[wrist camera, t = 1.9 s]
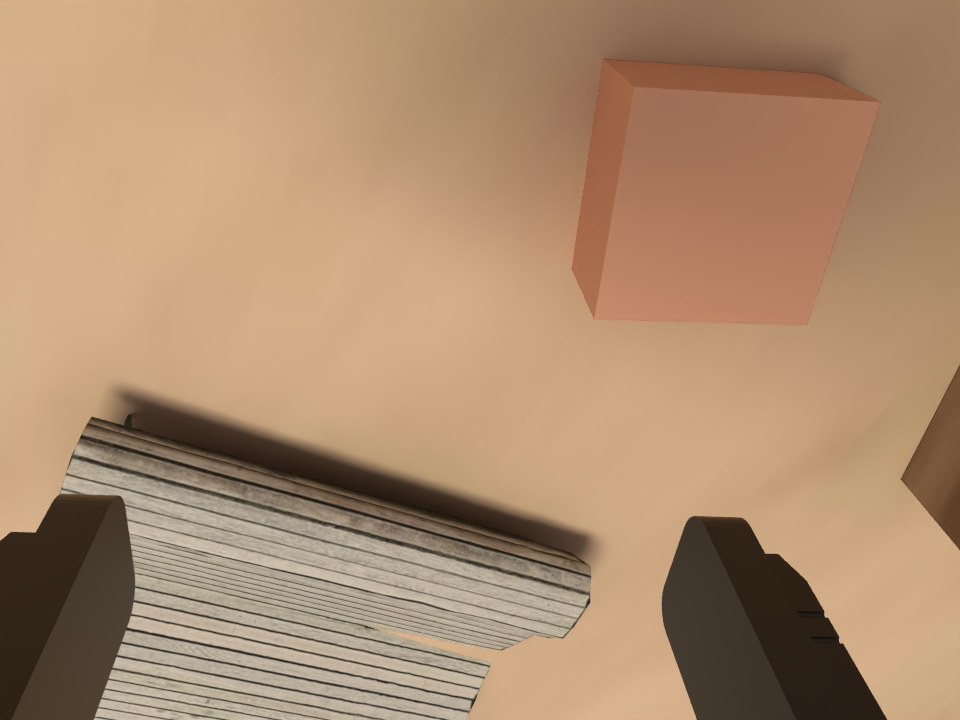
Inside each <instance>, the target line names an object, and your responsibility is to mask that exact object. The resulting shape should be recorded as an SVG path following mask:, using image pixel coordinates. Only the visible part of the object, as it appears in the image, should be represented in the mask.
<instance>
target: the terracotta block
mask: <svg viewBox="0 0 960 720" xmlns="http://www.w3.org/2000/svg"><path fill="white" fill-rule="evenodd" d="M880 104H881V102H880V101H878V100H875V99H873V98H871V97H869V96H867V95H865V94H862V93H860V92H858V91H856V90H854V89H852V88H850V87H847V86H845V85H843V84H841V83H839V82H837V81H835V80H832V79H830V78H828V77H826V76H824V75H822V74H819V73H804V72H789V71H774V70H759V69H743V68H728V67H713V66H698V65H682V64H667V63H652V62H637V61H622V60H606V59H603V63H602V70H601V76H600V83H599V90H598V96H597V103H596V110H595V116H594V123H593V130H592V136H591V143H590V150H589V157H588V163H587V170H586V177H585V183H584V190H583V197H582V203H581V210H580V217H579V223H578V230H577V237H576V243H575V250H574V257H573V264H572V271H573V273H574V275H575V277H576V280H577V282H578V284H579V286H580V289H581V291H582V293H583V295H584V298H585V300H586V302H587V304H588V307H589V309H590V311H591V313H592V316H593V318H594V319H599V320H637V321H675V322H712V323H750V324H788V325H807V323H808V320H809V317H810V314H811V311H812V308H813V305H814V302H815V299H816V296H817V293H818V290H819V287H820V284H821V281H822V278H823V275H824V272H825V269H826V266H827V263H828V260H829V257H830V254H831V251H832V248H833V245H834V242H835V239H836V236H837V233H838V230H839V227H840V224H841V221H842V218H843V215H844V212H845V209H846V206H847V203H848V200H849V197H850V194H851V191H852V188H853V185H854V182H855V179H856V176H857V173H858V170H859V167H860V164H861V161H862V158H863V155H864V152H865V149H866V146H867V143H868V140H869V137H870V134H871V131H872V128H873V125H874V122H875V119H876V116H877V113H878V110H879V107H880Z"/></svg>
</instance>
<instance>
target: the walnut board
mask: <svg viewBox="0 0 960 720" xmlns="http://www.w3.org/2000/svg"><path fill="white" fill-rule="evenodd" d="M901 480H902V481H903V483H904V484H905V485H906V486H907V487H908V489H909V490H910V491H911V492H912V493H913V494H914V496H915V497H916V498H917V499H918V500H919V502H920V503H921V504H922V505H923V506H924V508H925V509H926V510H927V511H928V512H929V514H930V515H931V516H932V517H933V518H934V520H935V521H936V522H937V523H938V524H939V526H940V527H941V528H942V529H943V530H944V532H945V533H946V534H947V535H948V536H949V538H950V539H951V540H952V541H953V542H954V544H955V545H956V546H957V547H958V548H959V550H960V367H959V369H958V371H957V373H956V375H955V377H954V379H953V381H952V382H951V384H950V386H949V388H948V390H947V392H946V394H945V396H944V398H943V400H942V402H941V404H940V406H939V408H938V409H937V411H936V413H935V415H934V417H933V419H932V421H931V423H930V425H929V427H928V429H927V431H926V433H925V435H924V436H923V438H922V440H921V442H920V444H919V446H918V448H917V450H916V452H915V454H914V456H913V458H912V460H911V462H910V463H909V465H908V467H907V469H906V471H905V473H904V475H903V477H902V479H901Z"/></svg>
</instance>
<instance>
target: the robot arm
mask: <svg viewBox="0 0 960 720" xmlns="http://www.w3.org/2000/svg"><path fill="white" fill-rule="evenodd" d="M134 595H135V571H134V564H133V557H132V550H131V543H130V536H129V529H128V522H127V515H126V508H125V503H124V500H123V498H122V497H121V496H119V495H90V494H60V495H58V496H57V497H56V498H55V499H54V501H53V502H52V504H51V506H50V508H49V510H48V511H47V513H46V515H45V517H44V519H43V520H42V522H41V524H40V526H39V528H38V529H37V531H36V533H29V532H11V533H9V534H8V535H7V536H6V537H4V538H3V539H2V540H1V541H0V720H94V718H95V715H96V712H97V710H98V707H99V704H100V701H101V699H102V696H103V693H104V690H105V687H106V685H107V682H108V679H109V676H110V674H111V671H112V668H113V665H114V662H115V660H116V657H117V654H118V651H119V649H120V646H121V643H122V640H123V638H124V635H125V632H126V629H127V626H128V624H129V620H130V617H131V613H132V608H133V603H134ZM662 616H663V623H664V627H665V630H666V634H667V636H668V639H669V642H670V645H671V648H672V650H673V653H674V656H675V659H676V662H677V665H678V667H679V670H680V673H681V676H682V679H683V681H684V684H685V687H686V690H687V693H688V696H689V698H690V701H691V704H692V707H693V710H694V712H695V715H696V718H697V720H887V719H886V717H885V715H884V713H883V712H882V710H881V708H880V706H879V705H878V703H877V701H876V700H875V698H874V696H873V694H872V693H871V691H870V689H869V688H868V686H867V684H866V682H865V681H864V679H863V677H862V675H861V674H860V672H859V670H858V669H857V667H856V665H855V663H854V662H853V660H852V658H851V657H850V655H849V653H848V651H847V650H846V648H845V646H844V644H840V643H839V636H838V634H837V632H836V631H835V629H834V627H833V625H832V624H831V622H830V620H829V619H828V618H825V616H824V610H823V608H822V607H821V605H820V603H819V601H818V600H817V598H816V596H815V594H814V593H813V591H812V589H811V588H810V586H809V584H808V582H807V581H806V580H805V579H804V578H803V577H802V576H801V575H800V574H799V573H798V572H797V571H796V570H794V569H793V568H792V567H791V566H790V565H789V564H788V563H787V562H786V561H785V560H784V559H783V558H782V557H781V556H780V555H779V554H765V552H764V551H763V549H762V547H761V545H760V543H759V541H758V540H757V538H756V536H755V534H754V532H753V530H752V529H751V527H750V525H749V524H748V522H747V521H746V520H744V519H743V518H736V517H705V516H692V517H691V518H690V519H689V520H688V521H687V523H686V525H685V527H684V530H683V533H682V536H681V539H680V542H679V545H678V547H677V550H676V553H675V556H674V559H673V562H672V565H671V568H670V571H669V574H668V577H667V579H666V582H665V585H664V589H663V595H662Z"/></svg>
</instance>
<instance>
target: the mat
mask: <svg viewBox="0 0 960 720" xmlns="http://www.w3.org/2000/svg"><path fill="white" fill-rule="evenodd" d="M60 494H90V495H119V496H121V497H122V498H123V500H124V503H125V508H126V515H127V522H128V529H129V536H130V543H131V550H132V557H133V564H134V571H135V595H134V603H133V608H132V613H131V617H130V620H129V624H128V626H127V629H126V632H125V635H124V638H123V640H122V643H121V646H120V649H119V651H118V654H117V657H116V660H115V662H114V665H113V668H112V671H111V674H110V676H109V679H108V682H107V685H106V687H105V690H104V693H103V696H102V699H101V701H100V704H99V707H98V710H97V712H96V715H95V718H94V720H466V719H467V717H468V714H469V712H470V710H471V708H472V706H473V704H474V702H475V700H476V697H477V694H478V691H479V688H480V686H481V684H482V682H483V680H484V678H485V676H486V675H487V673H488V670H489V667H490V665H491V662H488V661H483V660H479V659H475V658H471V657H467V656H464V655H460V654H457V653H453V652H450V651H446V650H443V649H439V648H435V647H432V646H428V645H425V644H422V643H419V642H416V641H413V640H410V639H406V638H403V637H400V636H396V635H393V634H390V633H387V632H384V631H380V630H377V629H374V628H380V629H385V630H391V631H396V632H402V633H407V634H412V635H417V636H422V637H427V638H432V639H436V640H441V641H446V642H450V643H455V644H461V645H466V646H472V647H478V648H486V649H495V650H503V649H505V648H508V647H510V646H512V645H514V644H516V643H518V642H521V641H523V640H525V639H527V638H529V637H532V636H533V635H536V636H541V637H547V638H564V637H565V636H566V635H567V634H568V632H569V631H570V630H571V629H572V628H573V627H574V626H575V624H576V623H577V621H578V620H579V618H580V617H581V615H582V614H583V612H584V611H585V609H586V608H587V606H588V605H589V603H590V583H591V568H590V566H589V565H588V564H586V563H585V562H584V561H582V560H581V559H579V558H578V557H576V556H575V555H573V554H572V553H570V552H567V551H563V550H559V549H556V548H552V547H551V546H550V547H549V546H546V545H543V544H541V543H538V542H535V541H533V540H530V539H527V538H525V537H522V536H519V535H515V534H511V533H508V532H504V531H500V530H496V529H492V528H488V527H484V526H481V525H478V524H475V523H472V522H469V521H466V520H463V519H460V518H456V517H452V516H448V515H444V514H440V513H436V512H432V511H428V510H424V509H420V508H416V507H412V506H408V505H405V504H401V503H397V502H393V501H389V500H385V499H382V498H378V497H374V496H371V495H367V494H363V493H360V492H356V491H352V490H349V489H345V488H341V487H338V486H334V485H330V484H327V483H323V482H319V481H316V480H312V479H308V478H305V477H301V476H298V475H295V474H291V473H288V472H285V471H281V470H278V469H275V468H272V467H268V466H265V465H262V464H258V463H255V462H252V461H248V460H245V459H242V458H238V457H234V456H230V455H226V454H222V453H219V452H215V451H211V450H207V449H204V448H200V447H197V446H193V445H189V444H186V443H182V442H179V441H175V440H172V439H168V438H164V437H160V436H157V435H153V434H151V433H148V432H145V431H141V430H138V429H134V428H132V423H131V415H128V416H127V418H126V420H125V424H124V426H123V425H120V424H116V423H112V422H109V421H105V420H101V419H98V418H94V417H91V419H90V420H89V422H88V424H87V425H86V427H85V429H84V431H83V433H82V435H81V437H80V439H79V441H78V443H77V445H76V447H75V450H74V452H73V454H72V456H71V459H70V462H69V466H68V469H67V472H66V475H65V479H64V482H63V485H62V488H61V491H60ZM60 494H59V495H60ZM368 626H369V627H368ZM371 627H374V628H371Z"/></svg>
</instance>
